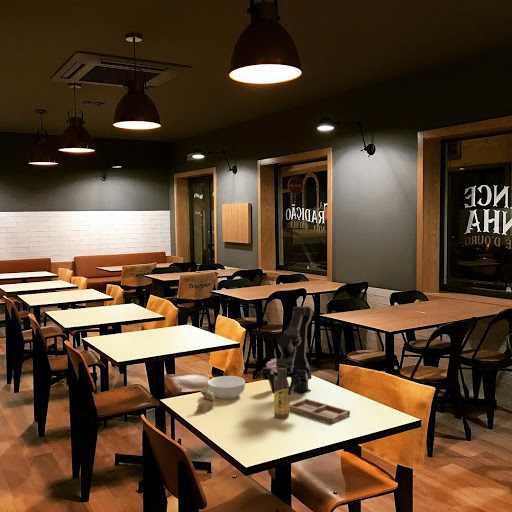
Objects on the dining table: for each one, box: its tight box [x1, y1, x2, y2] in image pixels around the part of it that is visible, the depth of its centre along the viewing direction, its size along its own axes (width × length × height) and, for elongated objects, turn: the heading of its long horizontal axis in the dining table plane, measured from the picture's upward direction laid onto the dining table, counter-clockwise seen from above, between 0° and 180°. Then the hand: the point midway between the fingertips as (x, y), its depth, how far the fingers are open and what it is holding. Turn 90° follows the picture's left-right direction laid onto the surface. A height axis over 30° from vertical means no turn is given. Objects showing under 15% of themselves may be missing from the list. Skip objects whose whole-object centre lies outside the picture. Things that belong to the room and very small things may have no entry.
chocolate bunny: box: [196, 386, 215, 413], centre depth 237 cm, size 6×8×10 cm
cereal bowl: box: [207, 375, 246, 400], centre depth 255 cm, size 17×17×7 cm
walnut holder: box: [289, 398, 351, 425], centre depth 231 cm, size 12×23×2 cm, turn 44°
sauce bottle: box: [273, 367, 291, 419], centre depth 227 cm, size 6×6×20 cm
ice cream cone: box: [265, 357, 278, 391], centre depth 261 cm, size 7×6×15 cm
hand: (281, 393), depth 226 cm, fingers closed on sauce bottle, 6 cm apart
